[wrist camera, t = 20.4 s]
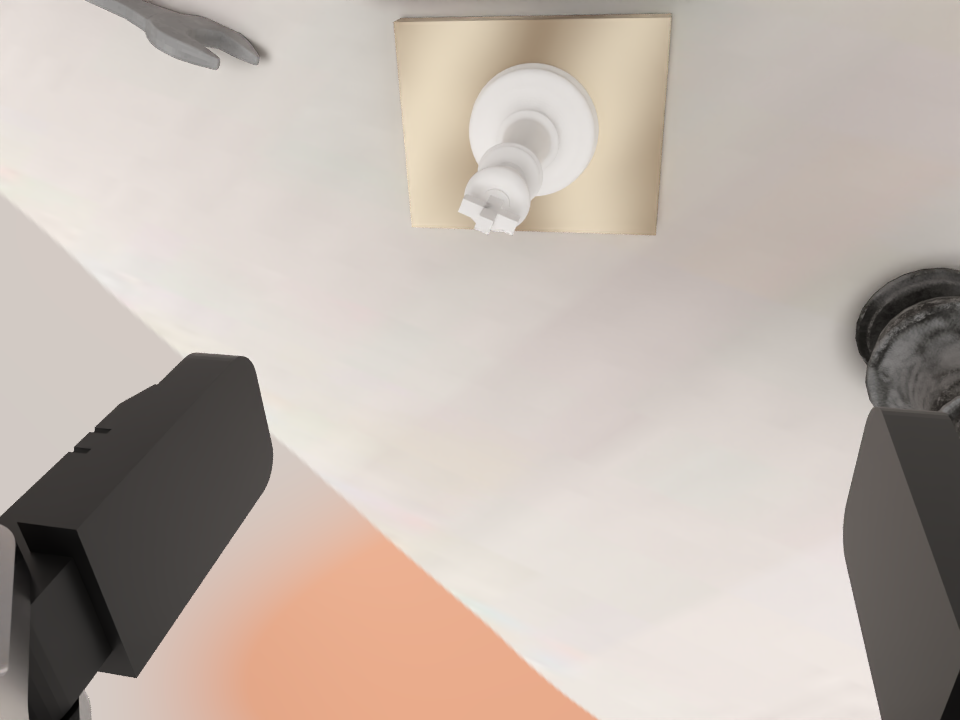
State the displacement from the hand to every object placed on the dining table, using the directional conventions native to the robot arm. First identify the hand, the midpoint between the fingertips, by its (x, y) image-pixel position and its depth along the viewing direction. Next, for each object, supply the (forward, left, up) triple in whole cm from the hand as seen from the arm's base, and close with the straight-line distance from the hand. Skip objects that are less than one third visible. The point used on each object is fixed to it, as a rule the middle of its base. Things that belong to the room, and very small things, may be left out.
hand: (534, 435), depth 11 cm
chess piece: (+3, +2, -22) cm, 22 cm away
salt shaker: (-13, +10, -23) cm, 28 cm away
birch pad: (+3, +2, -23) cm, 23 cm away
